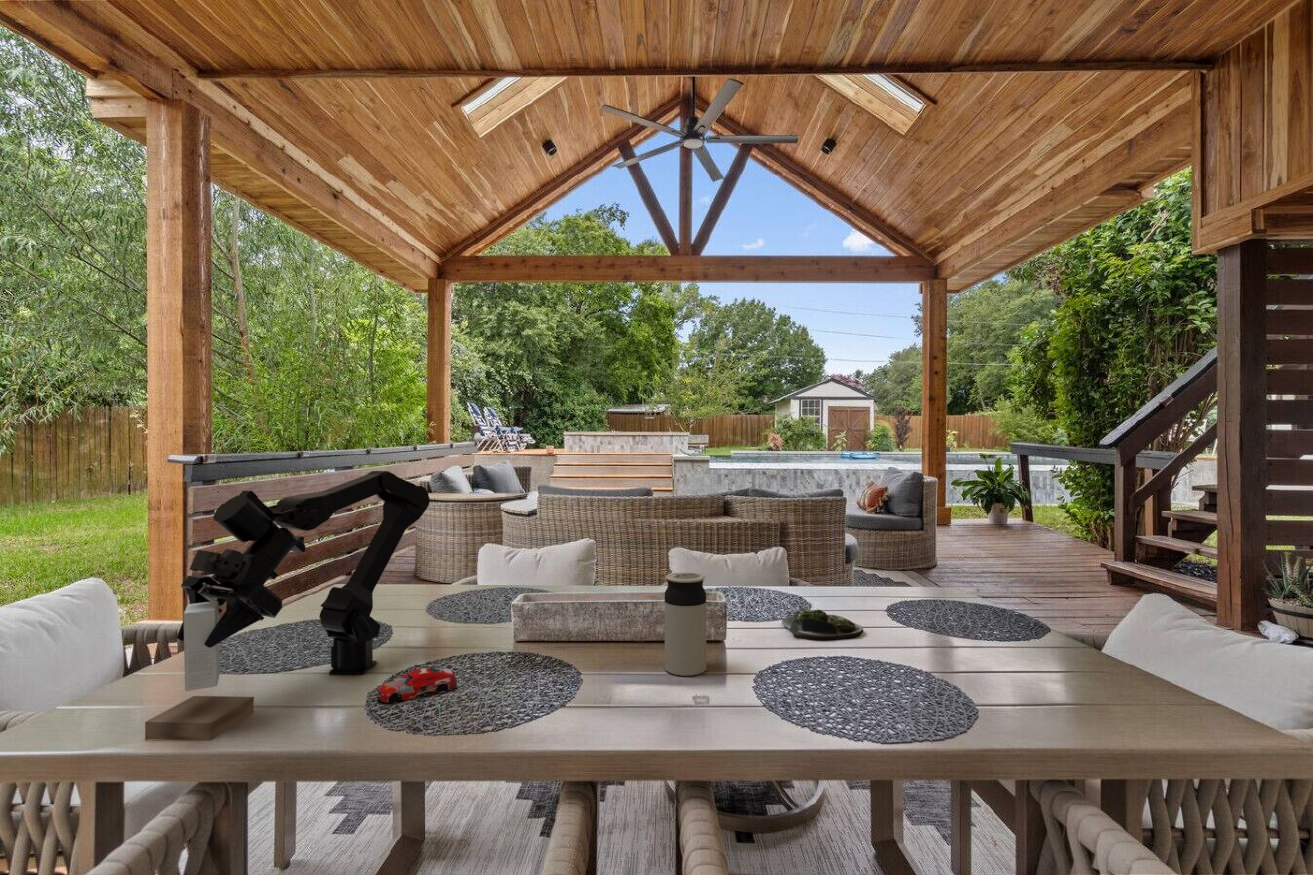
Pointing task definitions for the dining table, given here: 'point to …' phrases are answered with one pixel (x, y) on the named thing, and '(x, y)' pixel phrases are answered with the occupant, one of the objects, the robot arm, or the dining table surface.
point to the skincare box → (200, 646)
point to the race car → (417, 684)
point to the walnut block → (199, 718)
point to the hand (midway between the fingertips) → (192, 642)
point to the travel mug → (685, 624)
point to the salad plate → (821, 626)
